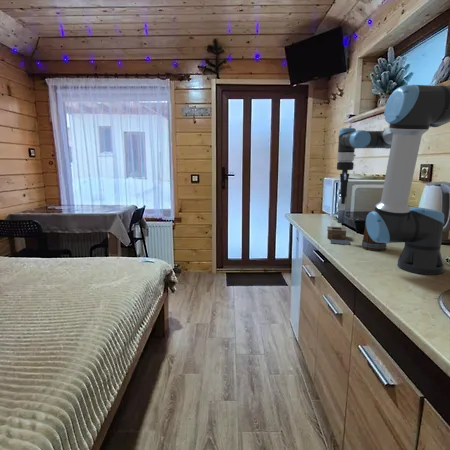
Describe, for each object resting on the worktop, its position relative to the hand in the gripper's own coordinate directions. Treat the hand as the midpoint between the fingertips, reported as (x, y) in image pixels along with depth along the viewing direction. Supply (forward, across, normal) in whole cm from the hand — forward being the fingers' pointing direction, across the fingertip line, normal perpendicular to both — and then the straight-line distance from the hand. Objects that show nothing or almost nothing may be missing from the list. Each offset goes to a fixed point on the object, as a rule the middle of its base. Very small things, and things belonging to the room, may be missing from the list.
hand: (342, 209), depth 160 cm
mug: (+17, -5, -15) cm, 23 cm away
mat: (+17, 0, 0) cm, 17 cm away
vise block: (+17, +10, +1) cm, 19 cm away
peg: (+7, 0, 0) cm, 7 cm away
